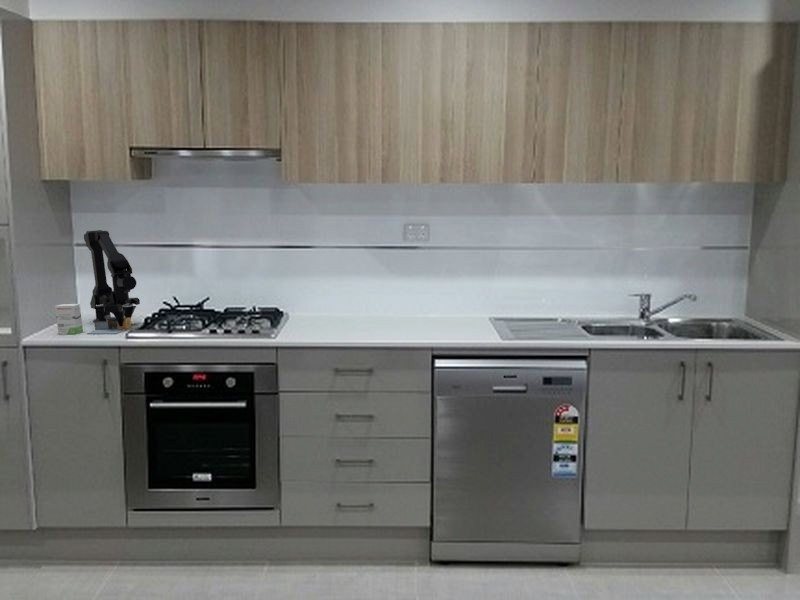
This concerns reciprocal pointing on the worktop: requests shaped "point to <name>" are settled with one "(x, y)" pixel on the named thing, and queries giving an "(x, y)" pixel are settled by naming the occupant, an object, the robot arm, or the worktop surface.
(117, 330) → the mat
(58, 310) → the ink box
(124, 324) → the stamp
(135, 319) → the worktop surface
